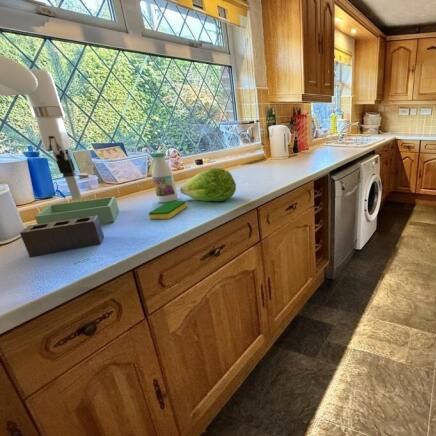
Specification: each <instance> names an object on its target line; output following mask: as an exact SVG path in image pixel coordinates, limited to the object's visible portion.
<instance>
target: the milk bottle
mask: <svg viewBox="0 0 436 436" xmlns="http://www.w3.org/2000/svg"><path fill="white" fill-rule="evenodd" d="M151 158H152V160H153V165H152V168H151V176H152V181H153V186H154V190H155V195H156V198H157V201H158V202H159V203H167V202H175V201H177V200H178V198H179V196H178V191H177V187H176V181H175V177H174V173H173V171H172V168H171V167H170V166H169V164H168V163H167V161H166V154H165V152H163V151H157V152H156V151H155V152H152V153H151Z"/></svg>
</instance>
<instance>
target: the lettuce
mask: <svg viewBox="0 0 436 436" xmlns="http://www.w3.org/2000/svg"><path fill="white" fill-rule="evenodd" d="M236 190H237V184H236V181H235V179H234V177H233V175H232V174H231V173H230V171H228V170H226V169H223V168H220V167H215V168H209V169H207V170H203V171H200V172H198V173H197V174H195V175H193V176H191V177H189V178H188V179H187V180H186V181H185V182H184V183H183V184H182V185H181V186H180V189H179V191H180V194H183V195H185V196H187V197H189V198H191V199H193V200H196V201H197V200H199V201H202V202H225V201H227V200H228V199H230V198H232V197H233V196H234V194H235V193H236Z"/></svg>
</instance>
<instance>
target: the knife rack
mask: <svg viewBox="0 0 436 436" xmlns="http://www.w3.org/2000/svg"><path fill="white" fill-rule="evenodd" d="M19 235H20V237H21V239H22V242H23V245H24V246H25V249H26V252H27V254H28V257H29V258H34V257H38V256H44V255H49V254H55V253H61V252H65V251H71V250H76V249H82V248H87V247H92V246H98V245H101V244H102V242H103V240H104V239H105V235H104V232H103V229H102V224H100V222H99V219H98V216H97V215H96V216H89V217H82V218H76V219H69V220H62V221H56V222H49V223H42V224H37V223H36V224H30V225H27V226H26V227H25V228H23V230H22V231H20V232H19Z"/></svg>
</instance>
